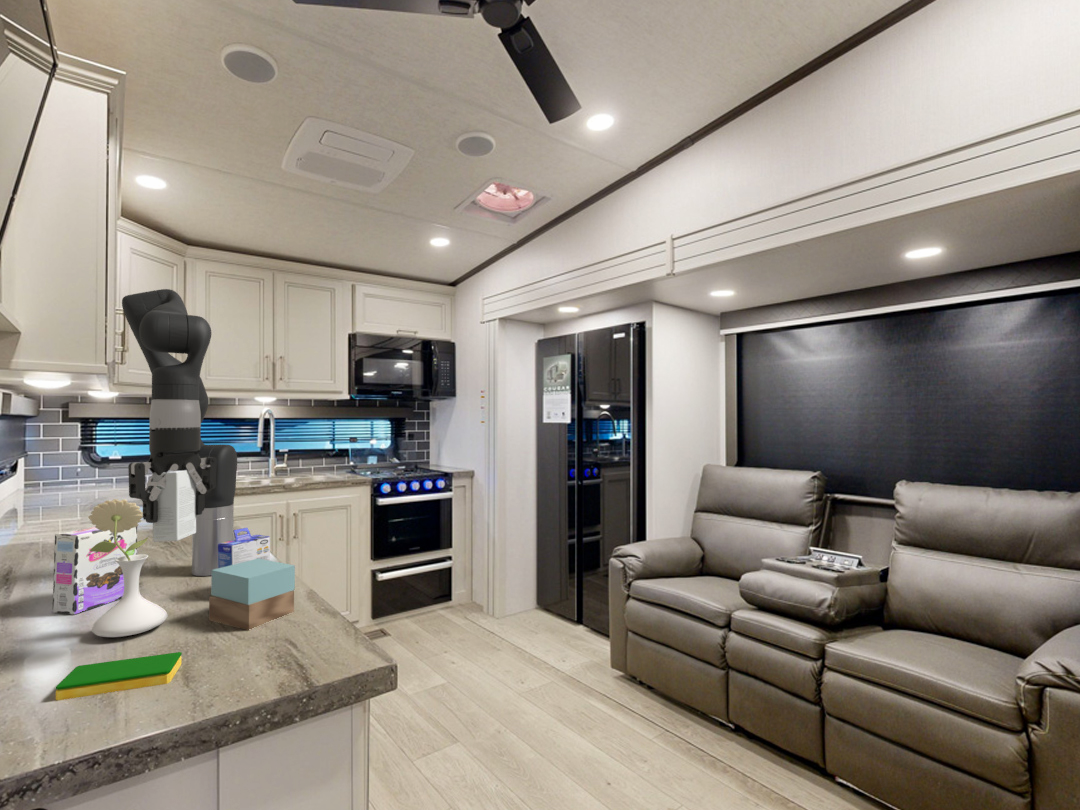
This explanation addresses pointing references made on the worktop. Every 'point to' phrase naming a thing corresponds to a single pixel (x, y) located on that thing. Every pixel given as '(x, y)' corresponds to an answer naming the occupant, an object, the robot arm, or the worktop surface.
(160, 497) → the skincare box
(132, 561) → the flower in vase
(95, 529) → the candy box
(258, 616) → the tower base block
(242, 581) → the tower top block
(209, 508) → the robot arm
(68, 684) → the dish sponge
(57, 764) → the worktop surface
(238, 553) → the ink cartridge box
